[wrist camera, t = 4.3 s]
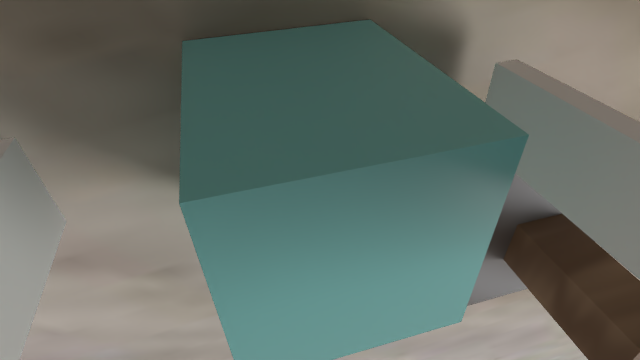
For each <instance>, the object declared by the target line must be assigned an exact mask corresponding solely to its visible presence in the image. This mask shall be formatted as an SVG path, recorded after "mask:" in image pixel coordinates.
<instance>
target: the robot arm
mask: <svg viewBox="0 0 640 360" xmlns="http://www.w3.org/2000/svg"><path fill="white" fill-rule="evenodd" d="M485 103H486V104H487V105H489V106H490V107H491V108H493V109H494V110H496V111H497V112H498V113H500V114H501V115H502V116H504V117H505V118H507V119H508V120H509V121H511V122H512V123H514V124H515V125H516V126H518V127H519V128H520V129H522V130H523V131H525V132H526V133H527V134H529V137H528V140H527V142H526V145H525V148H524V151H523V153H522V156H521V159H520V162H519V164H518V167H517V170H516V173H515V174H517V175H518V176H519V177H520V178H521V179H522V180H524V181H525V182H526V183H527V184H528V185H530V186H531V187H532V188H533V189H534V190H535V191H537V192H538V193H539V194H540V195H541V196H542V197H544V198H545V199H546V200H547V201H548V202H549V203H551V204H552V205H553V206H554V207H555V208H556V209H558V210H559V211H560V212H561V213H562V214H563V215H565V216H566V217H567V218H568V219H569V220H570V221H572V222H573V223H574V224H575V225H576V226H577V227H579V228H580V229H581V230H582V231H583V232H585V233H586V234H587V235H588V236H589V237H590V238H592V239H593V240H594V241H595V242H596V243H597V244H599V245H600V246H601V247H602V248H603V249H604V250H606V251H607V252H608V253H609V254H610V255H611V256H613V257H614V258H615V259H616V260H617V261H618V262H620V263H621V264H622V265H623V266H624V267H625V268H627V269H628V270H629V271H630V272H631V273H632V274H634V275H635V276H636V277H637V278H638V279H640V122H638V121H636V120H634V119H632V118H630V117H628V116H626V115H625V114H623V113H621V112H619V111H617V110H615V109H613V108H611V107H609V106H607V105H605V104H603V103H601V102H599V101H597V100H595V99H593V98H591V97H589V96H587V95H585V94H584V93H582V92H580V91H578V90H576V89H574V88H572V87H570V86H568V85H566V84H564V83H562V82H560V81H558V80H556V79H554V78H552V77H550V76H548V75H546V74H544V73H543V72H541V71H539V70H537V69H535V68H533V67H531V66H529V65H527V64H525V63H523V62H521V61H519V60H511V61H504V62H498V63H496V64H495V68H494V71H493V75H492V79H491V83H490V87H489V90H488V94H487V98H486V102H485ZM65 224H66V219H65V218H64V216H63V215H62V213H61V211H60V210H59V208H58V206H57V205H56V203H55V202H54V200H53V198H52V197H51V195H50V194H49V192H48V190H47V189H46V187H45V185H44V184H43V182H42V181H41V179H40V177H39V176H38V174H37V173H36V171H35V169H34V168H33V166H32V164H31V163H30V161H29V160H28V158H27V156H26V155H25V153H24V152H23V150H22V148H21V147H20V145H19V143H18V142H17V140H16V139H15V137H14V138H7V139H1V140H0V360H20V357H21V354H22V351H23V348H24V345H25V342H26V339H27V336H28V333H29V331H30V328H31V325H32V322H33V319H34V316H35V313H36V310H37V307H38V304H39V301H40V298H41V295H42V292H43V289H44V286H45V283H46V280H47V277H48V275H49V272H50V269H51V266H52V263H53V260H54V257H55V254H56V251H57V248H58V245H59V242H60V239H61V236H62V233H63V230H64V227H65Z"/></svg>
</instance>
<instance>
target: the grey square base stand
mask: <svg viewBox="0 0 640 360" xmlns="http://www.w3.org/2000/svg"><path fill="white" fill-rule="evenodd" d="M524 289H529V290H530V292H531V293H532V294H533V295H534V296H535V297H536V299H537V300H538V301H539V302H540V303H541V304H542V306H543V307H544V308H545V309H546V310H547V312H548V313H549V314H550V315H551V316H552V317H553V319H554V320H555V321H556V322H557V323H558V324H559V326H560V327H561V328H562V329H563V330H564V332H565V333H566V334H567V335H568V336H569V337H570V339H571V340H572V341H573V342H574V343H575V344H576V346H577V347H578V348H579V349H580V350H581V352H582V353H583V354H584V355H585V356H586V357H587V359H588V360H640V281H639V280H638V279H637V278H636V277H635V276H633V275H632V274H631V273H630V272H629V271H628V270H626V269H625V268H624V267H623V266H622V265H621V264H620V263H618V262H617V261H616V260H615V259H614V258H613V257H612V256H610V255H609V254H608V253H607V252H606V251H605V250H604V249H602V248H601V247H600V246H599V245H598V244H597V243H595V241H594V240H593V239H592V238H590V237H589V236H588V235H587V234H586V233H585V232H583V231H582V230H581V229H580V228H579V227H577V226H576V225H575V224H574V223H573V222H572V221H570V220H569V219H568V218H567V217H566V216H565V215H563V214H562V213H561V212H560V211H559V210H558V209H556V208H555V207H554V206H553V205H552V204H551V203H549V202H548V201H547V200H546V199H545V198H544V197H542V196H541V195H540V194H539V193H538V192H537V191H535V190H534V189H533V188H532V187H531V186H530V185H528V184H527V183H526V182H525V181H524V180H522V179H521V178H520V177H519V176H518V175H517V174H515V175H514V178H513V181H512V184H511V186H510V189H509V192H508V195H507V197H506V200H505V203H504V205H503V208H502V211H501V214H500V216H499V219H498V222H497V225H496V227H495V230H494V233H493V236H492V238H491V241H490V244H489V247H488V249H487V252H486V255H485V258H484V260H483V263H482V266H481V269H480V271H479V274H478V277H477V280H476V282H475V285H474V288H473V291H472V293H471V296H470V299H469V302H468V304H467V306H469V305H472V304H476V303H479V302H483V301H486V300H489V299H493V298H496V297H500V296H503V295H507V294H510V293H514V292H517V291H521V290H524Z"/></svg>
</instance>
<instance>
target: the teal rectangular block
mask: <svg viewBox="0 0 640 360" xmlns="http://www.w3.org/2000/svg"><path fill="white" fill-rule="evenodd" d="M528 137H529V134H527V133H526V132H525V131H523V130H522V129H520V128H519V127H518V126H516V125H515V124H514V123H512V122H511V121H509V120H508V119H507V118H505V117H504V116H502V115H501V114H500V113H498V112H497V111H496V110H494V109H493V108H491V107H490V106H489V105H487V104H486V103H485V102H483V101H482V100H480V99H479V98H478V97H476V96H475V95H474V94H472V93H471V92H469V91H468V90H467V89H465V88H464V87H462V86H461V85H460V84H458V83H457V82H456V81H454V80H453V79H451V78H450V77H449V76H447V75H446V74H445V73H443V72H442V71H440V70H439V69H438V68H436V67H435V66H434V65H432V64H431V63H429V62H428V61H427V60H425V59H424V58H422V57H421V56H420V55H418V54H417V53H416V52H414V51H413V50H411V49H410V48H409V47H407V46H406V45H405V44H403V43H402V42H400V41H399V40H398V39H396V38H395V37H394V36H392V35H391V34H389V33H388V32H387V31H385V30H384V29H382V28H381V27H380V26H378V25H377V24H376V23H374V22H373V21H371V20H361V21H353V22H344V23H335V24H327V25H318V26H309V27H301V28H292V29H283V30H275V31H266V32H257V33H249V34H240V35H231V36H223V37H214V38H205V39H197V40H188V41H182V88H181V139H180V191H179V204H180V207H181V210H182V213H183V215H184V218H185V221H186V224H187V227H188V230H189V233H190V236H191V238H192V241H193V244H194V247H195V250H196V253H197V256H198V258H199V261H200V264H201V267H202V270H203V273H204V276H205V278H206V281H207V284H208V287H209V290H210V293H211V296H212V299H213V301H214V304H215V307H216V310H217V313H218V316H219V319H220V321H221V324H222V327H223V330H224V333H225V336H226V339H227V341H228V344H229V347H230V350H231V353H232V356H233V359H234V360H333V359H336V358H340V357H343V356H347V355H350V354H353V353H357V352H360V351H364V350H367V349H370V348H374V347H377V346H380V345H384V344H387V343H391V342H394V341H397V340H401V339H404V338H408V337H411V336H414V335H418V334H421V333H424V332H428V331H431V330H435V329H438V328H441V327H445V326H448V325H452V324H455V323H458V322H461V321H462V318H463V315H464V313H465V310H466V307H467V304H468V302H469V299H470V296H471V293H472V291H473V288H474V285H475V282H476V280H477V277H478V274H479V271H480V269H481V266H482V263H483V260H484V258H485V255H486V252H487V249H488V247H489V244H490V241H491V238H492V236H493V233H494V230H495V227H496V225H497V222H498V219H499V216H500V214H501V211H502V208H503V205H504V203H505V200H506V197H507V195H508V192H509V189H510V186H511V184H512V181H513V178H514V175H515V173H516V170H517V167H518V164H519V162H520V159H521V156H522V153H523V151H524V148H525V145H526V142H527V140H528Z"/></svg>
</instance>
